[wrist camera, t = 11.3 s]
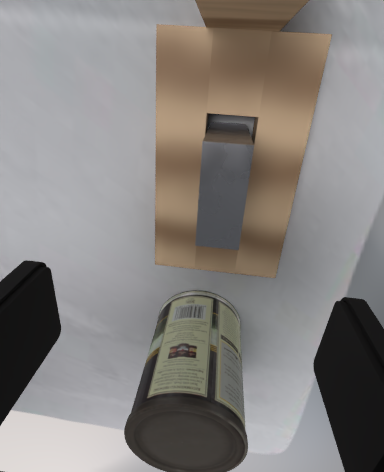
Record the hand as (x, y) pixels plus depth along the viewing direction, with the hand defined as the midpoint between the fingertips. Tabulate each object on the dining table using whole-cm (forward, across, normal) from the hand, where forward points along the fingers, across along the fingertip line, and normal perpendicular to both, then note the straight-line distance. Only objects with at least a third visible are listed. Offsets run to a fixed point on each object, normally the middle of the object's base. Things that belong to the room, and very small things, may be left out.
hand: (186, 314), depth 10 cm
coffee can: (+21, 0, +20) cm, 29 cm away
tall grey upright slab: (+20, -1, 0) cm, 20 cm away
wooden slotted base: (+20, -1, -3) cm, 21 cm away
